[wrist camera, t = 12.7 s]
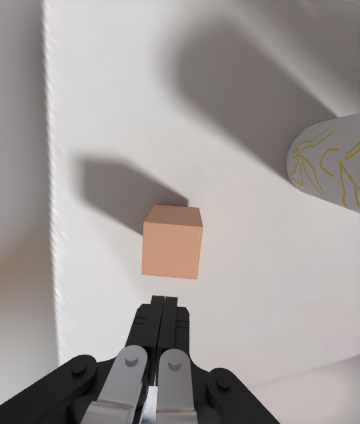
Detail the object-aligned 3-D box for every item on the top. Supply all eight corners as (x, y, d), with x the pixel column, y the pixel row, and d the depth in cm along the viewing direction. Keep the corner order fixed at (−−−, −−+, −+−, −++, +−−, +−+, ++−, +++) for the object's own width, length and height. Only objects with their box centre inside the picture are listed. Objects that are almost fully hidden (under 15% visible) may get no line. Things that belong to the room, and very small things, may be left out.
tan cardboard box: (198, 207, 26) (202, 227, 19) (194, 249, 27) (196, 279, 21) (154, 204, 26) (143, 222, 19) (152, 245, 27) (141, 274, 21)
